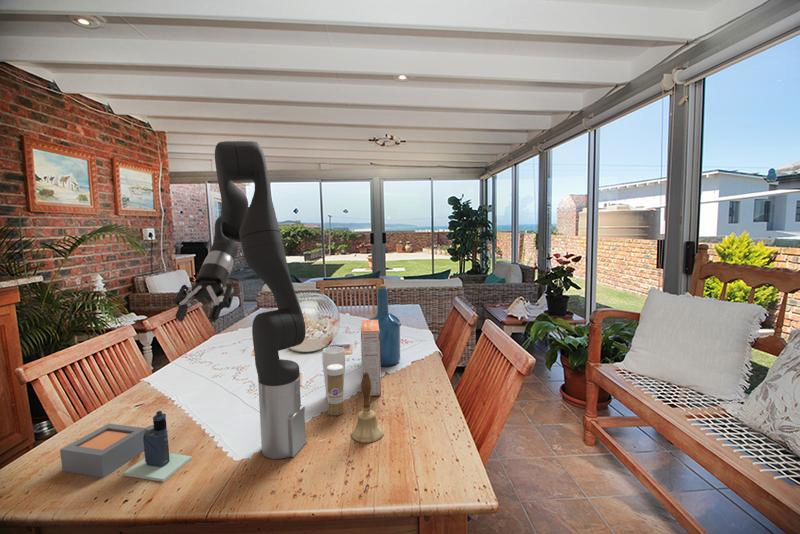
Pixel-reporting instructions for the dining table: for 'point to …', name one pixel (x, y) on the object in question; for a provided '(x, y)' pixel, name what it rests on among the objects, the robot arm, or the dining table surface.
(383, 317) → the wine bottle
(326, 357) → the drinking glass
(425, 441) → the dining table surface
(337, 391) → the sprinkles bottle
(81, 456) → the box
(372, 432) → the hand bell
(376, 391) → the cracker box
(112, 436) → the button
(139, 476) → the pad
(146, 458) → the vaping device
